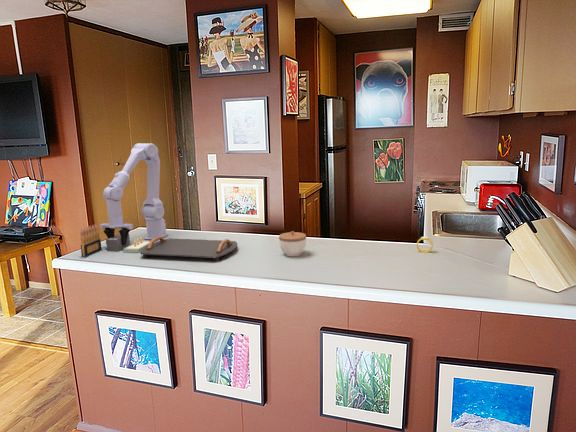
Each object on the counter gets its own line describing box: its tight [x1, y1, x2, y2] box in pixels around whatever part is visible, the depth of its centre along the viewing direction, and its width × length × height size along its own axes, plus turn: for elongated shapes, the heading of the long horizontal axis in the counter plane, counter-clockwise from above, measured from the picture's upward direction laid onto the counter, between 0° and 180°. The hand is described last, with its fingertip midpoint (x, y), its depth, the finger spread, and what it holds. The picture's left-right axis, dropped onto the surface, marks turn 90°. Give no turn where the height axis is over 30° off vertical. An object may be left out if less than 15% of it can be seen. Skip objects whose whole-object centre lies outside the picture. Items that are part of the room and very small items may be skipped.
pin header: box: [122, 236, 151, 254], centre depth 196 cm, size 13×7×4 cm, turn 168°
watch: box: [416, 236, 434, 253], centre depth 178 cm, size 6×3×6 cm, turn 71°
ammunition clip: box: [80, 223, 103, 258], centre depth 190 cm, size 11×2×12 cm, turn 166°
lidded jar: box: [278, 230, 307, 257], centre depth 180 cm, size 11×11×9 cm
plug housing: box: [105, 233, 131, 252], centre depth 198 cm, size 10×5×5 cm, turn 168°
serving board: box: [139, 237, 238, 262], centre depth 188 cm, size 39×23×6 cm, turn 75°
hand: (118, 244), depth 198 cm, fingers closed on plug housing, 5 cm apart
